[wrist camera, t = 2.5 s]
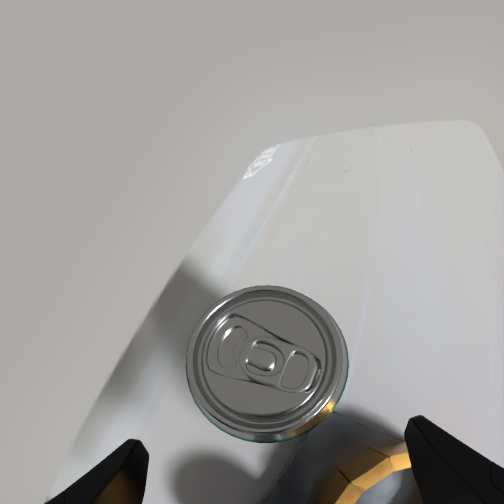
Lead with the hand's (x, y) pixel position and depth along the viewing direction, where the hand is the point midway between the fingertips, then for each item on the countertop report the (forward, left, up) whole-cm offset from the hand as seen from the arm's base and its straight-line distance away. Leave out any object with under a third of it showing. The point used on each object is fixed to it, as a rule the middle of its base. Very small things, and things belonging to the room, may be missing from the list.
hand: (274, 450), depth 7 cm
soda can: (+2, +2, -10) cm, 11 cm away
